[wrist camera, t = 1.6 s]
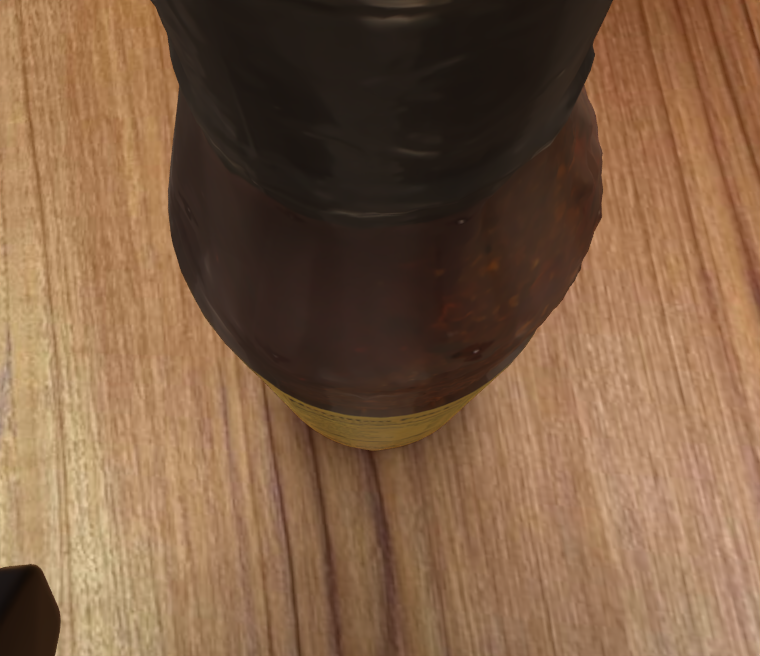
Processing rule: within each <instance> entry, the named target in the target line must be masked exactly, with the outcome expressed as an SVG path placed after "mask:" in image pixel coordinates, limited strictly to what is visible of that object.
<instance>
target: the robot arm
mask: <svg viewBox="0 0 760 656" xmlns="http://www.w3.org/2000/svg"><path fill="white" fill-rule="evenodd" d="M60 624H61V619H60V611H59V608H58V605H57V603H56V601H55V598H54V596H53V594H52V592H51V589H50V587H49V585H48V582H47V580H46V578H45V576H44V573H43V571H42V570H41V568H39V567H38V566H37V565H33V564H29V565H19V566H9V567H3V568H0V656H55V653H56V648H57V643H58V638H59V633H60Z"/></svg>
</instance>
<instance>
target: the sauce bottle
mask: <svg viewBox="0 0 760 656" xmlns="http://www.w3.org/2000/svg"><path fill="white" fill-rule="evenodd" d="M151 1H152V3H153V4H154V5H155V6H156V9H157V11H158V14H159V16H160V19H161V21H162V24H163V26H164V28H165V30H166V32H167V35H168V43H169V50H170V57H171V61H172V65H173V69H174V72H175V74H176V77H177V80H178V83H179V94H178V103H177V112H176V121H175V129H174V138H173V146H172V155H171V166H170V177H169V188H168V213H169V221H170V230H171V237H172V242H173V246H174V250H175V253H176V256H177V259H178V263H179V266H180V269H181V272H182V274H183V276H184V278H185V281H186V283H187V285H188V287H189V289H190V291H191V293H192V295H193V297H194V298H195V300H196V302H197V304H198V306H199V308H200V309H201V311H202V313H203V315H204V317H205V318H206V319H207V321H208V322H209V323H210V325H211V326H212V327H213V328H214V330H215V331H216V332H217V334H218V335H219V336H220V337H221V339H222V340H223V341H224V343H225V344H226V345H227V346H228V347H229V348H230V349H231V350H232V351H233V352H234V353H235V354H236V355H237V356H238V357H239V358H240V359H241V360H242V361H243V362H244V363H245V364H246V365H247V366H248V367H249V368H250V369H251V370H252V371H253V372H254V373H255V374H256V375H257V376H259V377H260V378H261V379H262V380H263V381H264V382H265V383H266V384H267V385H268V386H269V387H270V388H271V389H272V390H273V391H274V392H275V393H276V394H277V396H278V397H279V398H280V399H281V400H282V401H283V402H284V403H285V404H286V405H287V406H288V407H289V408H290V409H291V410H292V411H293V412H294V413H295V414H296V415H297V416H298V417H299V418H300V419H301V420H302V421H303V422H305V423H306V424H307V425H308V426H309V427H311V428H312V429H314V430H315V431H317V432H318V433H320V434H322V435H323V436H325V437H327V438H329V439H331V440H333V441H335V442H338V443H340V444H343V445H346V446H349V447H354V448H360V449H366V450H371V451H375V450H383V449H391V448H396V447H400V446H404V445H408V444H410V443H413V442H416V441H418V440H421V439H422V438H424V437H426V436H428V435H430V434H432V433H433V432H435V431H436V430H438V429H439V428H441V427H442V426H443V425H444V424H445V423H447V422H448V421H449V420H450V419H451V418H452V417H453V416H454V415H455V414H456V413H458V412H459V411H460V410H461V409H462V408H463V407H464V406H465V405H466V404H467V403H468V402H469V401H470V400H472V399H473V398H474V397H475V396H476V395H477V394H478V393H479V392H481V391H482V390H483V389H484V388H485V387H486V386H487V385H488V384H489V383H491V382H492V381H493V380H494V379H495V378H496V377H497V376H498V375H499V374H500V373H502V372H503V371H504V370H505V369H506V368H507V367H508V366H509V365H510V364H511V363H512V362H513V361H514V359H515V358H516V357H517V356H518V355H519V354H520V352H521V351H522V350H523V349H524V348H525V347H526V345H527V344H528V342H529V341H530V339H531V338H532V337H533V335H534V333H535V331H536V329H537V328H538V327H539V326H540V325H542V323H543V322H544V321H545V320H546V318H547V317H548V316H549V315H550V313H551V312H552V311H553V310H554V309H555V308H556V307H557V306H558V305H559V304H560V302H561V301H562V300H563V298H564V296H565V295H566V293H567V291H568V289H569V287H570V286H571V285H572V283H573V282H574V281H575V279H576V276H577V274H578V273H579V271H580V269H581V263H582V261H583V258H584V257H585V255H586V254H587V252H588V250H589V247H590V244H591V241H592V237H593V234H594V231H595V229H596V227H597V225H598V223H599V222H600V220H601V218H602V208H601V202H602V194H603V185H602V177H601V174H602V154H603V153H602V149H601V146H600V143H599V140H598V126H597V121H596V115H595V112H594V109H593V107H592V104H591V103H590V101H589V99H588V96H587V93H586V89H585V85H584V83H585V81H586V79H587V77H588V75H589V73H590V70H591V67H592V63H593V60H594V57H595V53H594V49H593V41H594V39H595V37H596V35H597V33H598V31H599V29H600V26H601V24H602V22H603V20H604V18H605V16H606V14H607V12H608V10H609V8H610V5H611V3H612V1H613V0H151Z"/></svg>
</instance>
